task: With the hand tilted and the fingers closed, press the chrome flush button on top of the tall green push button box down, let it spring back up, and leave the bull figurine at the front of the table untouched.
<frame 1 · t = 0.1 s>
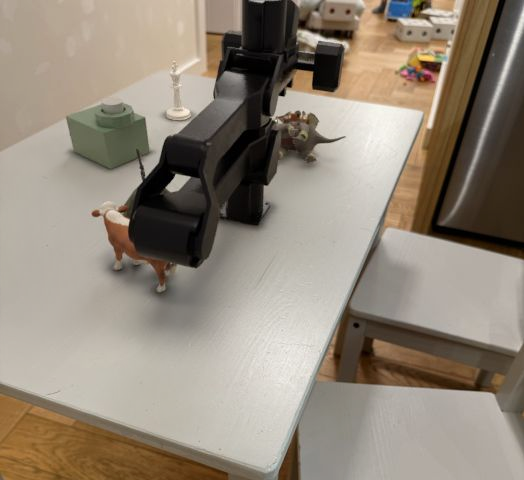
hand: (295, 47, 82), 17 cm above the table, tool horizontal, fingers open, 9 cm apart
sword in stone: (150, 216, 75), on the table
flush button: (112, 106, 82), point 8 cm above the table, slide at 0.1 cm
green push button box: (112, 152, 89), on the table
bull figurine: (140, 272, 66), on the table
figurine: (289, 146, 94), on the table
chess piece: (178, 116, 102), on the table
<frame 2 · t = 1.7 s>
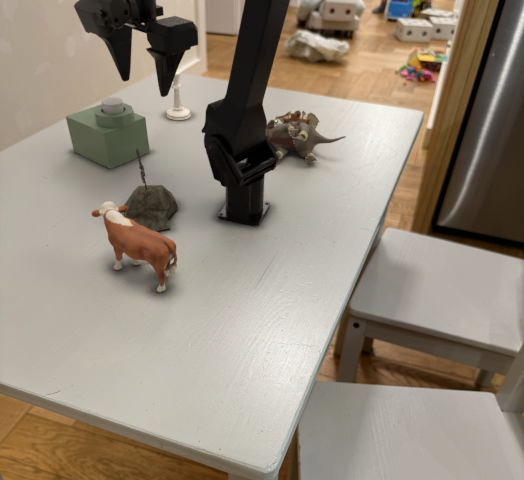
hand: (144, 88, 76), 13 cm above the table, tool pointing down, fingers open, 8 cm apart
nothing on the table moved.
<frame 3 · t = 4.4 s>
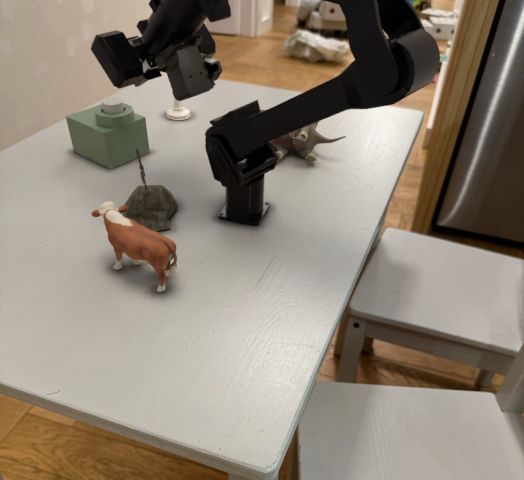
hand: (135, 83, 76), 14 cm above the table, tool tilted 45°, fingers closed
nothing on the table moved.
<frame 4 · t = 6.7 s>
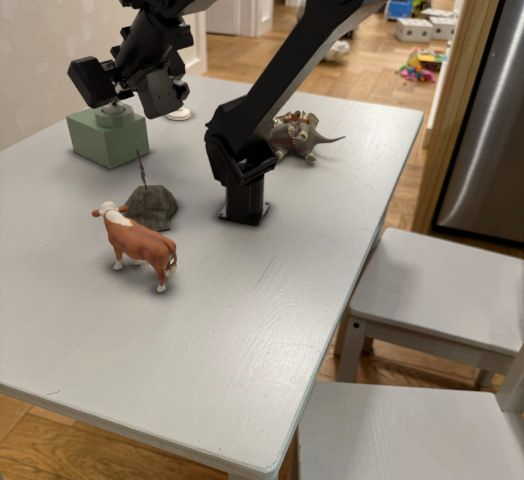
hand: (112, 101, 82), 9 cm above the table, tool tilted 45°, fingers closed, pressing on flush button
flush button: (113, 109, 83), point 8 cm above the table, slide at -0.3 cm, touching gripper
everything else where it was.
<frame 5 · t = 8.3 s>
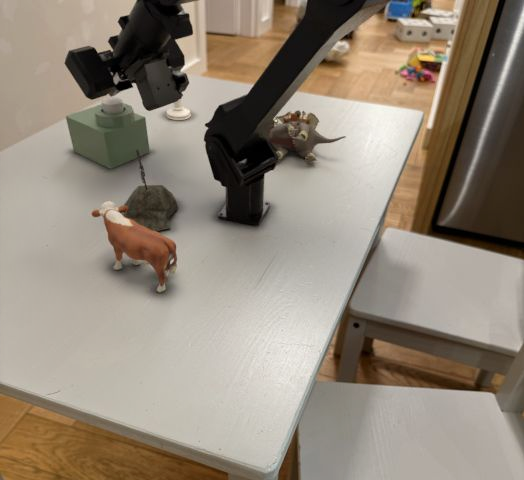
hand: (110, 93, 81), 10 cm above the table, tool tilted 45°, fingers closed
flush button: (112, 106, 82), point 8 cm above the table, slide at 0.1 cm
everything else where it was.
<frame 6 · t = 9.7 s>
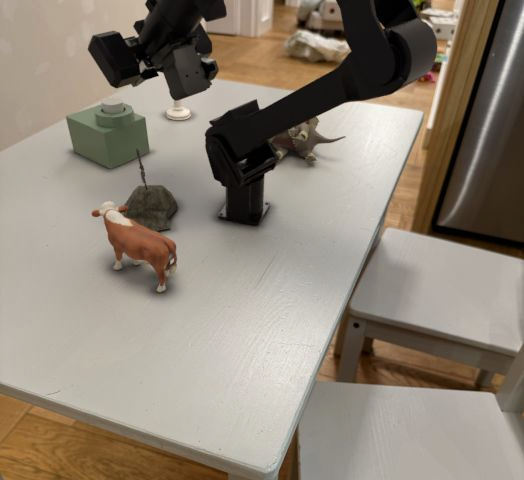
hand: (133, 83, 76), 13 cm above the table, tool tilted 45°, fingers closed
nothing on the table moved.
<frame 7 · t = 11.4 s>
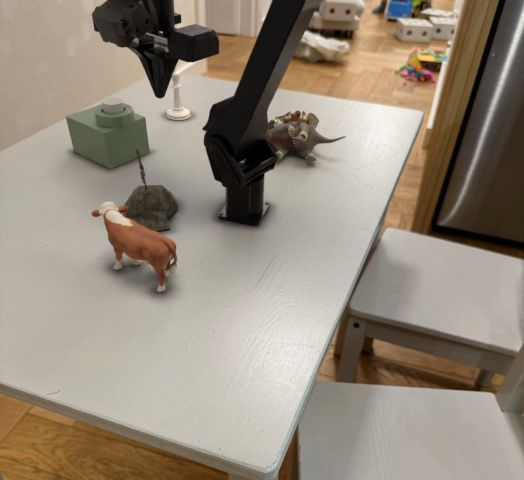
hand: (160, 97, 74), 13 cm above the table, tool pointing down, fingers closed
nothing on the table moved.
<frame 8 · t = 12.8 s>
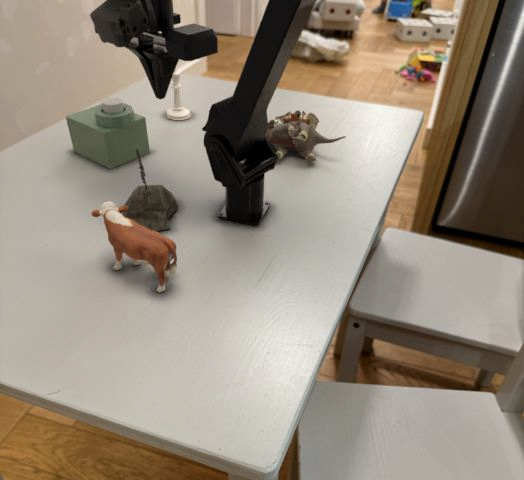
hand: (160, 98, 74), 13 cm above the table, tool pointing down, fingers closed
nothing on the table moved.
at the end: flush button pushed in 1.2 cm at the most during the clip, back to where it started at the end; flush button slide at 0.1 cm; bull figurine moved 0.2 cm from its start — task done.
